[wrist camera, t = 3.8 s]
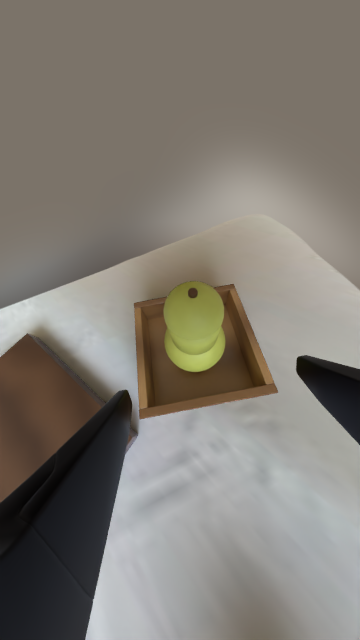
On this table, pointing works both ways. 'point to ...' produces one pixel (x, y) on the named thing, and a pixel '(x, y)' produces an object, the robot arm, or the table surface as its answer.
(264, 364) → the wooden tray
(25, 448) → the walnut board
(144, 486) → the table surface
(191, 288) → the pear
